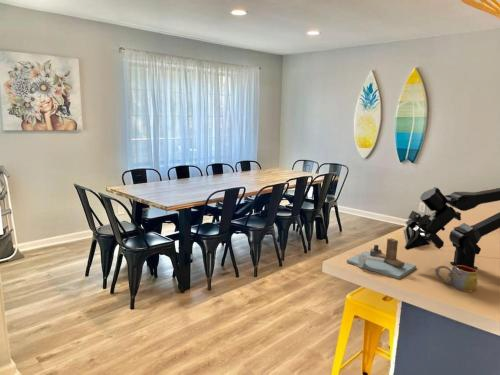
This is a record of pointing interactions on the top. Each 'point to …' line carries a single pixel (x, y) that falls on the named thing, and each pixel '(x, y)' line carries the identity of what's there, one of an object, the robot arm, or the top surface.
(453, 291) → the top surface
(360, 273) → the top surface
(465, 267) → the mug
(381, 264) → the board
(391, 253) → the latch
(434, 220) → the robot arm
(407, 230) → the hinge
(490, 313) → the top surface
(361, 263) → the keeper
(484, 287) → the top surface
